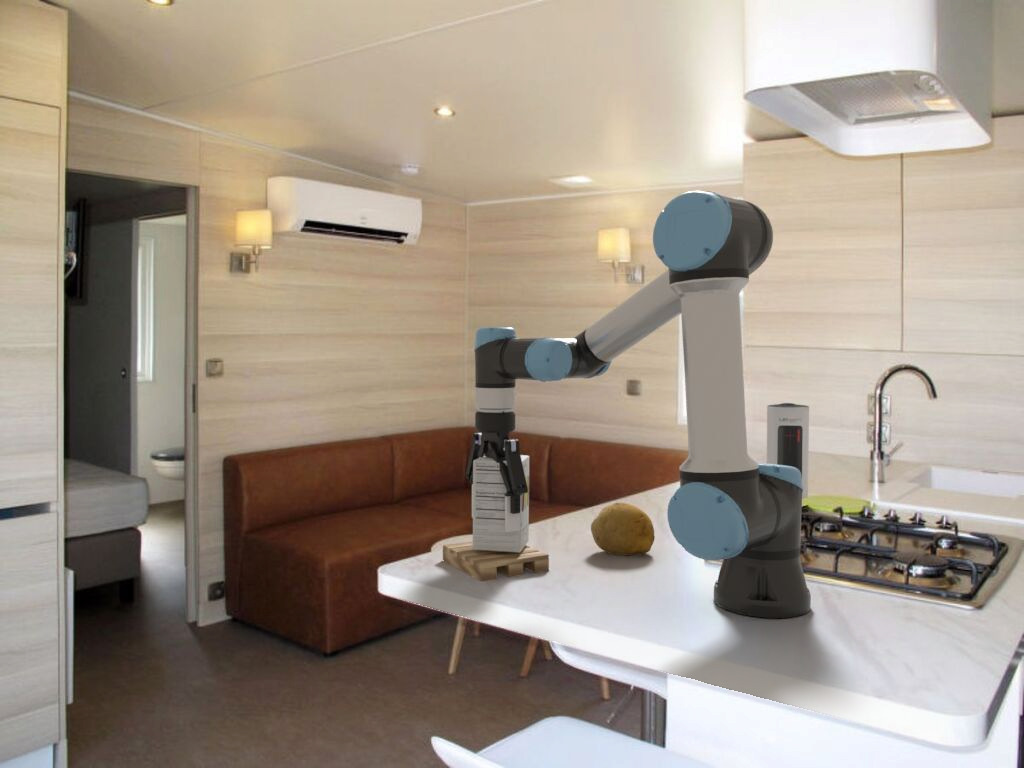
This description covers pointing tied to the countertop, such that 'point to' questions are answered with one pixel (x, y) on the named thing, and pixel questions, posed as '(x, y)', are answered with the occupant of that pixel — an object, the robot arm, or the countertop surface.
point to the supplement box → (496, 508)
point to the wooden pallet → (494, 561)
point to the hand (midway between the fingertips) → (495, 523)
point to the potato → (623, 530)
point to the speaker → (789, 438)
